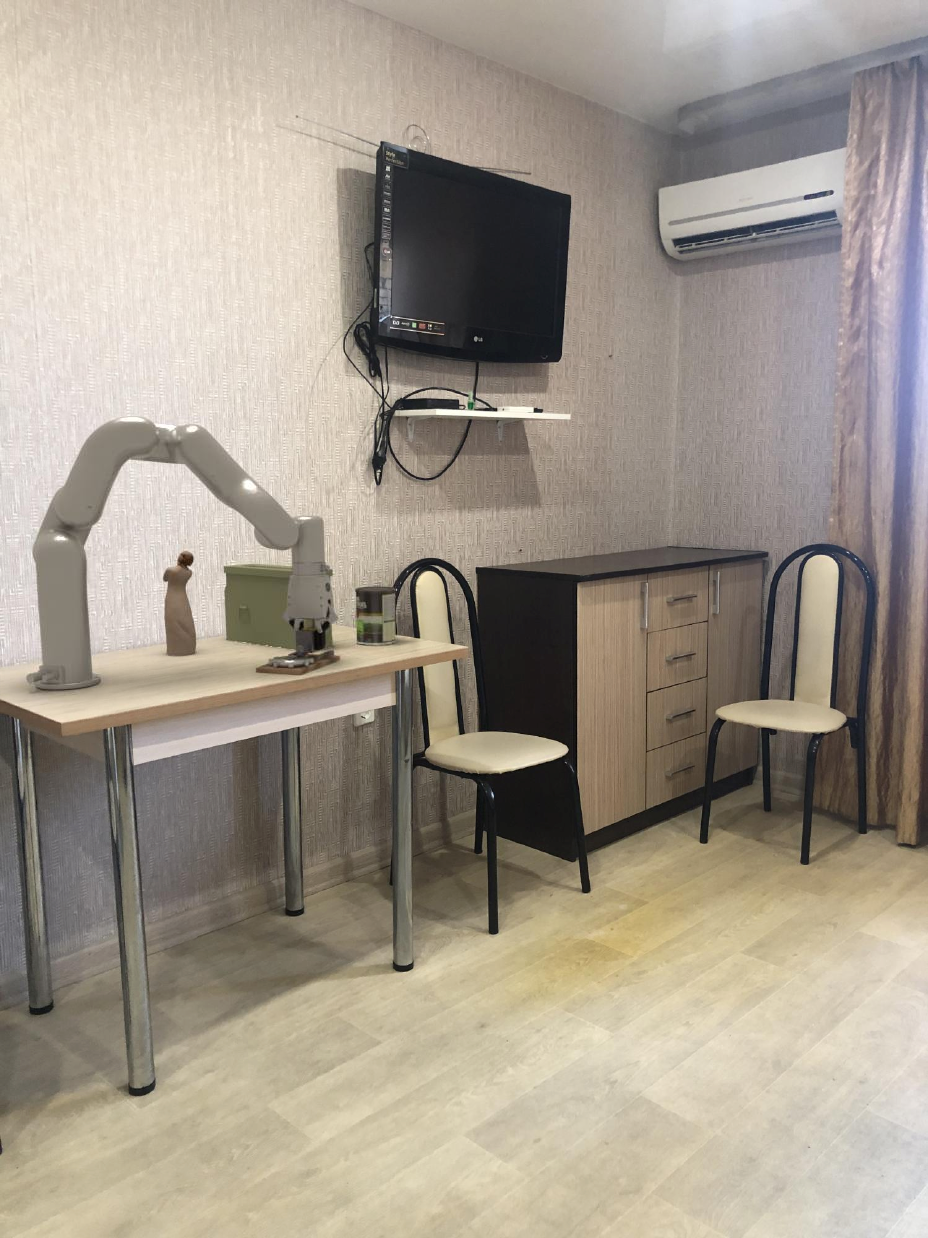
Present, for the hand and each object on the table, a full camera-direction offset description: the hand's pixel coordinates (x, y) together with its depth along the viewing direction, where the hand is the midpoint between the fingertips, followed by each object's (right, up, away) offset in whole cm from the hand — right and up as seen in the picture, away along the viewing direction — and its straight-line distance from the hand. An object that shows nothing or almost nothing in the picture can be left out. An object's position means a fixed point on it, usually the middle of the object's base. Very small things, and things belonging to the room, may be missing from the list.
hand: (311, 647), depth 229 cm
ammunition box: (-12, 0, +27) cm, 29 cm away
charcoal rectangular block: (0, -1, 0) cm, 1 cm away
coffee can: (+13, 0, +27) cm, 30 cm away
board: (-2, -4, -5) cm, 6 cm away
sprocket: (-3, -3, -9) cm, 10 cm away
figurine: (-34, -2, +14) cm, 37 cm away
